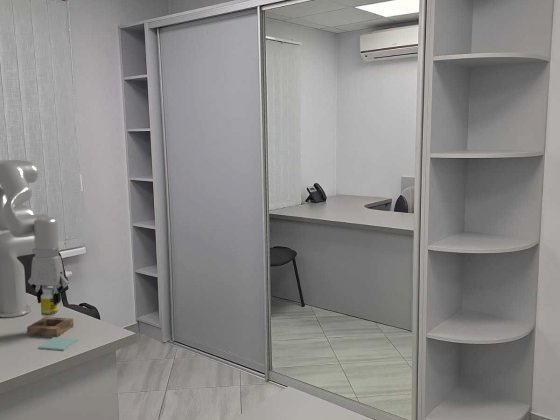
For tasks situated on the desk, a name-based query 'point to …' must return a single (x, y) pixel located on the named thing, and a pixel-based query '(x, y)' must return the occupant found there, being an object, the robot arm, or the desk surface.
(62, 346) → the coaster plate
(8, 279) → the robot arm
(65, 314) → the desk surface
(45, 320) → the can holder
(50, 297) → the supplement bottle
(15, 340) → the desk surface
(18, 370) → the desk surface
